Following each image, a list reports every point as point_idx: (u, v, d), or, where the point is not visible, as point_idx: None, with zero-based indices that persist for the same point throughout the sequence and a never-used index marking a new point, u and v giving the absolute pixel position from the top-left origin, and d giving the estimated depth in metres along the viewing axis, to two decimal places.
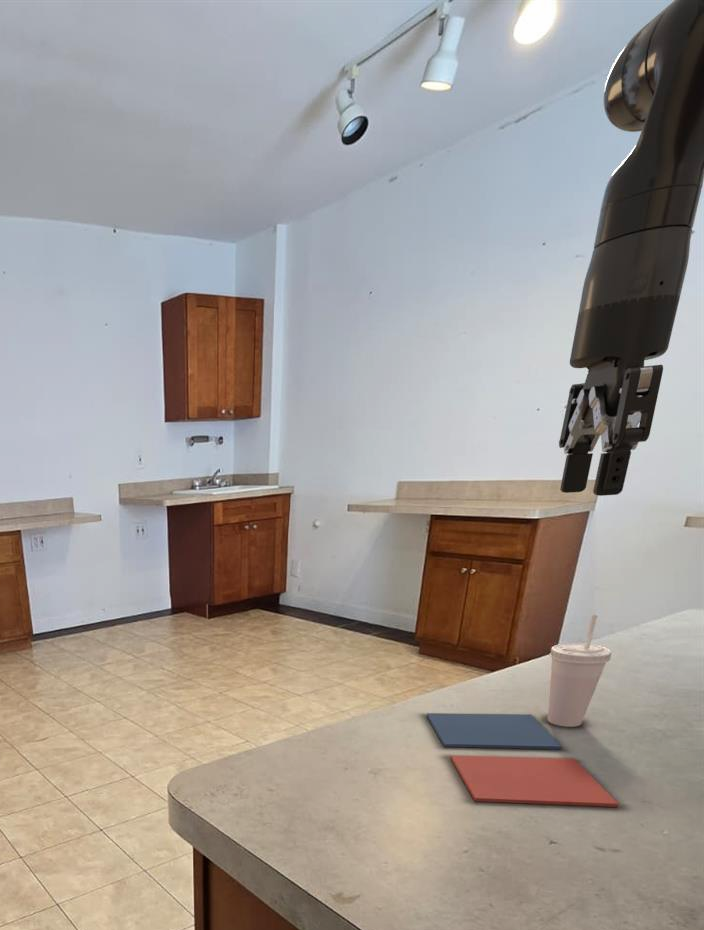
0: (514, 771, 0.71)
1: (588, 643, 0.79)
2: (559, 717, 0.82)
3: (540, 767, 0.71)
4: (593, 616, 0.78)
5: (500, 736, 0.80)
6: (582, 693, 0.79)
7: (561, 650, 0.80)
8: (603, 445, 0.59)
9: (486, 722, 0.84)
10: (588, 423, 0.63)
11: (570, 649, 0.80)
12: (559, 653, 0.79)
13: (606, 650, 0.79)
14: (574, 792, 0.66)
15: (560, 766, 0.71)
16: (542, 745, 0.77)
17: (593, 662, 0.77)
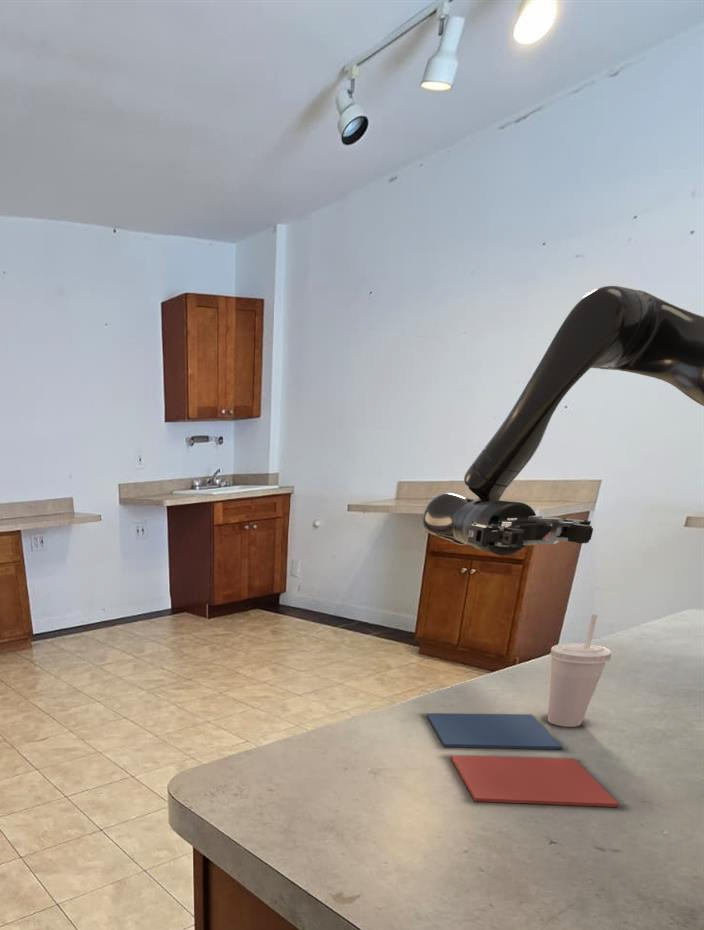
0: (514, 771, 0.71)
1: (588, 643, 0.79)
2: (559, 717, 0.82)
3: (540, 767, 0.71)
4: (593, 616, 0.78)
5: (500, 736, 0.80)
6: (582, 693, 0.79)
7: (561, 650, 0.80)
8: (499, 546, 0.89)
9: (486, 722, 0.84)
10: (533, 539, 0.91)
11: (570, 649, 0.80)
12: (559, 653, 0.79)
13: (606, 650, 0.79)
14: (574, 792, 0.66)
15: (560, 766, 0.71)
16: (542, 745, 0.77)
17: (593, 662, 0.77)
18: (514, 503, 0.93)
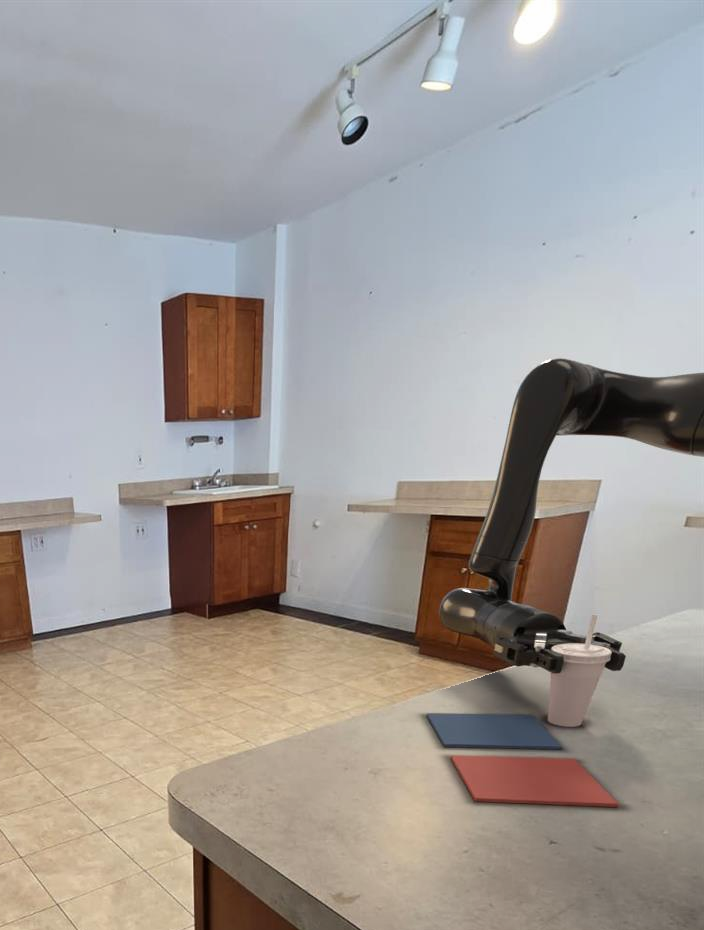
0: (514, 771, 0.71)
1: (588, 643, 0.79)
2: (559, 717, 0.82)
3: (540, 767, 0.71)
4: (593, 616, 0.77)
5: (500, 736, 0.80)
6: (582, 693, 0.79)
7: (561, 650, 0.80)
8: (535, 666, 0.83)
9: (486, 722, 0.84)
10: None
11: (570, 649, 0.80)
12: (559, 653, 0.79)
13: (606, 650, 0.79)
14: (574, 792, 0.66)
15: (560, 766, 0.71)
16: (542, 745, 0.77)
17: (593, 662, 0.77)
18: (541, 614, 0.88)
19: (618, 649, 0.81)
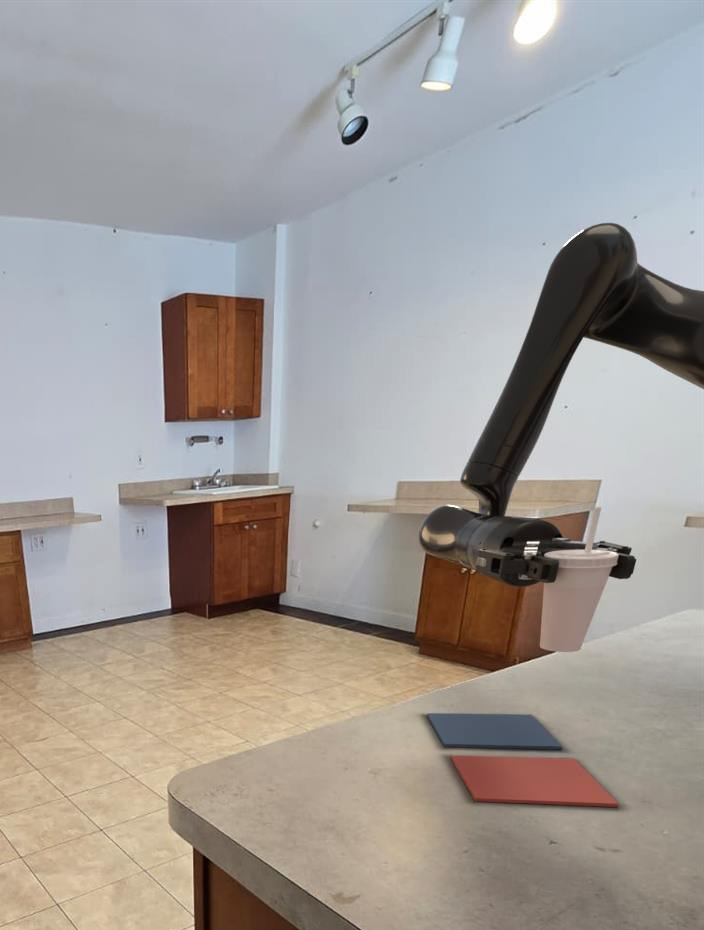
0: (514, 771, 0.71)
1: (590, 545, 0.64)
2: (553, 641, 0.67)
3: (540, 767, 0.71)
4: (596, 509, 0.62)
5: (500, 736, 0.80)
6: (581, 608, 0.64)
7: (556, 555, 0.65)
8: (524, 579, 0.68)
9: (486, 722, 0.84)
10: None
11: (567, 553, 0.64)
12: (553, 558, 0.64)
13: (612, 553, 0.63)
14: (574, 792, 0.66)
15: (560, 766, 0.71)
16: (542, 745, 0.77)
17: (596, 566, 0.62)
18: (534, 521, 0.72)
19: None
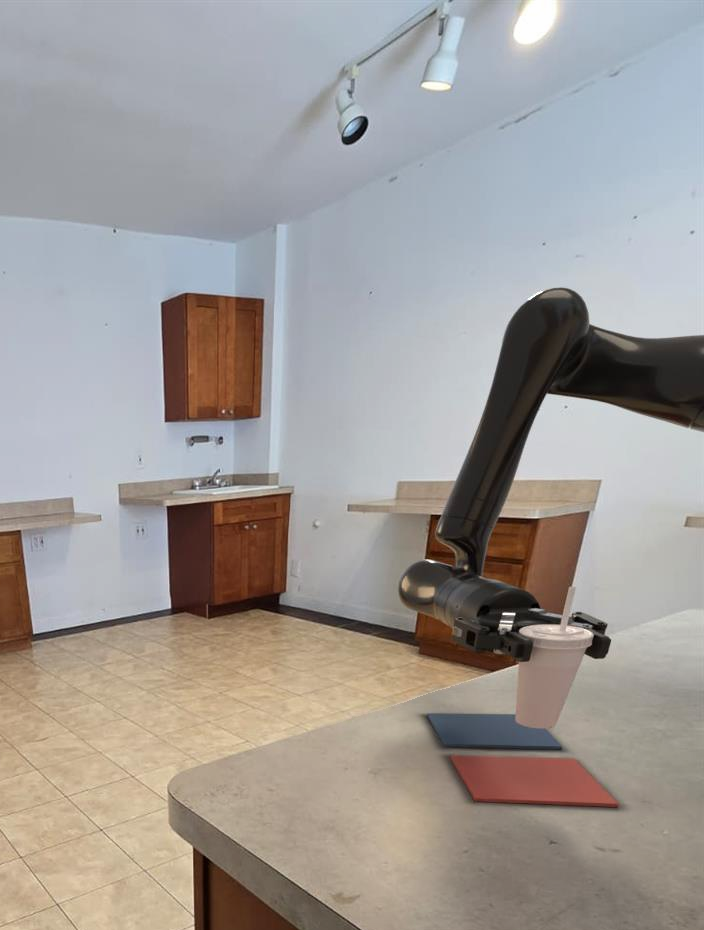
0: (514, 771, 0.71)
1: (564, 624, 0.63)
2: (528, 717, 0.66)
3: (540, 767, 0.71)
4: (570, 589, 0.61)
5: (500, 736, 0.80)
6: (556, 687, 0.63)
7: (531, 633, 0.64)
8: (499, 653, 0.67)
9: (486, 722, 0.84)
10: None
11: (542, 631, 0.63)
12: (528, 636, 0.63)
13: (587, 632, 0.62)
14: (574, 792, 0.66)
15: (560, 766, 0.71)
16: (542, 745, 0.77)
17: (570, 647, 0.61)
18: (510, 590, 0.71)
19: (603, 632, 0.65)
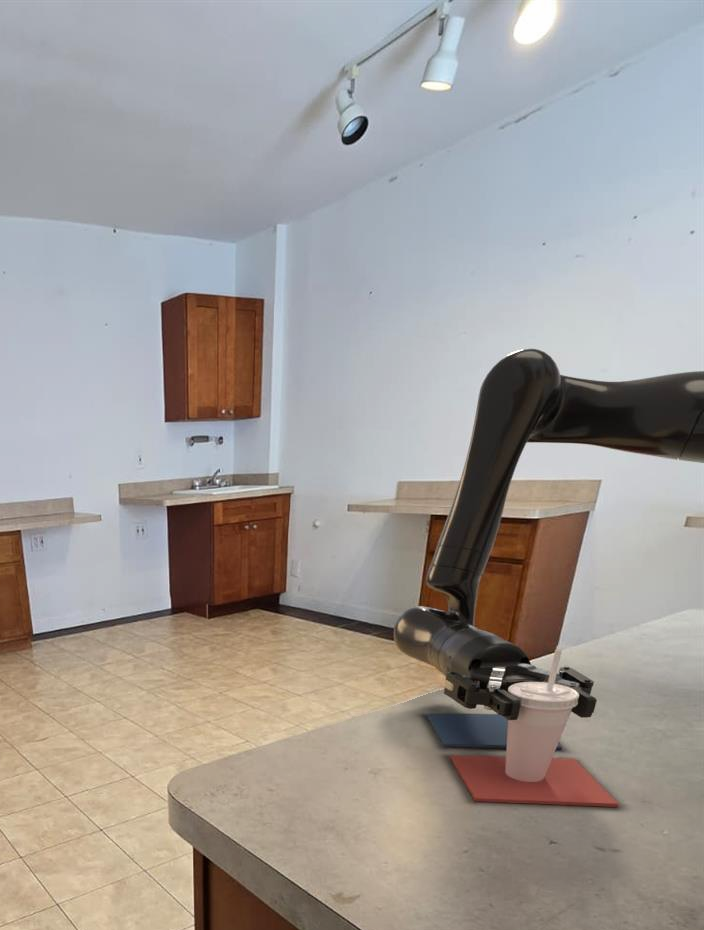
0: None
1: (551, 684, 0.65)
2: (518, 770, 0.68)
3: None
4: (557, 652, 0.64)
5: (500, 736, 0.80)
6: (543, 744, 0.66)
7: (519, 691, 0.66)
8: (489, 709, 0.69)
9: (486, 722, 0.84)
10: None
11: (530, 690, 0.66)
12: (516, 695, 0.65)
13: (573, 692, 0.65)
14: (574, 792, 0.66)
15: (560, 766, 0.71)
16: None
17: (556, 707, 0.64)
18: (501, 645, 0.74)
19: (589, 689, 0.68)
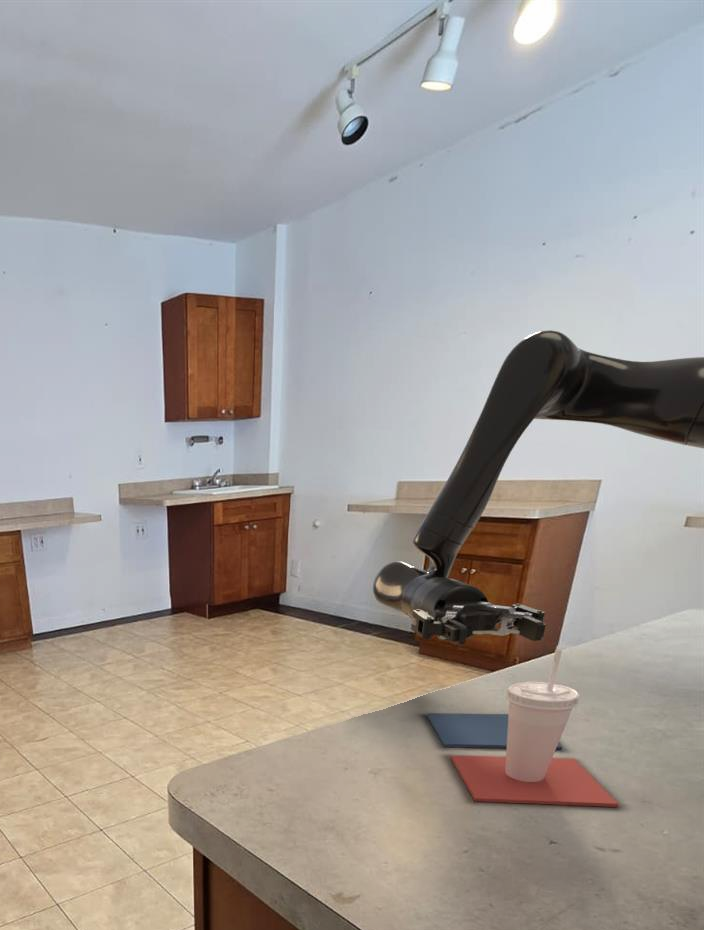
0: None
1: (551, 684, 0.65)
2: (517, 770, 0.69)
3: None
4: (557, 652, 0.64)
5: (500, 736, 0.80)
6: (543, 744, 0.66)
7: (519, 691, 0.66)
8: (443, 639, 0.79)
9: (486, 722, 0.84)
10: (482, 629, 0.80)
11: (530, 690, 0.66)
12: (516, 695, 0.66)
13: (573, 692, 0.65)
14: (574, 792, 0.66)
15: (560, 766, 0.71)
16: None
17: (556, 707, 0.64)
18: (462, 586, 0.83)
19: (541, 619, 0.78)
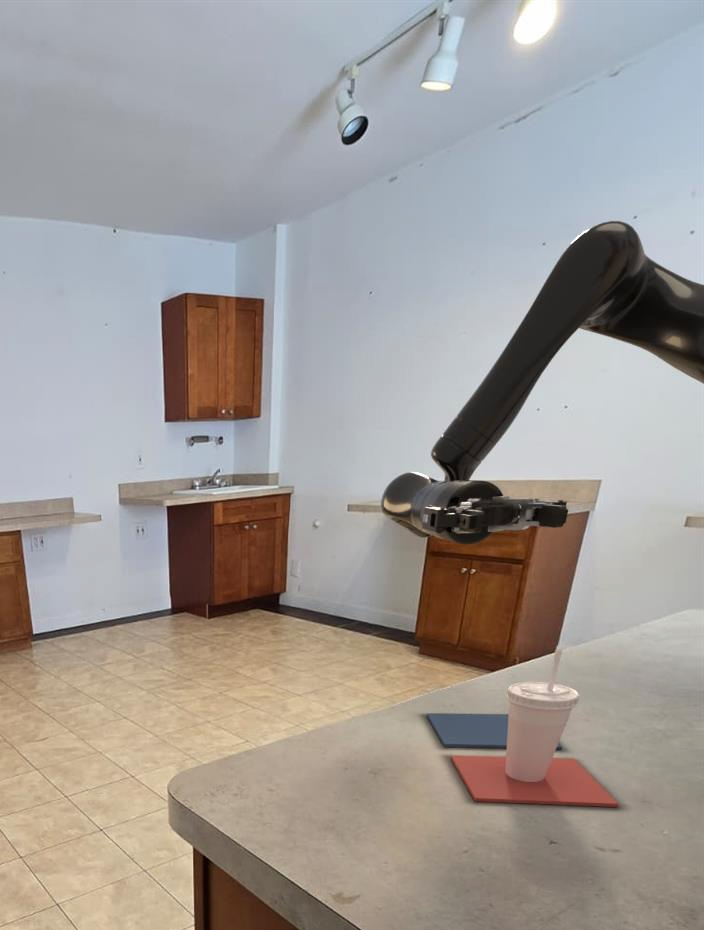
0: None
1: (551, 684, 0.65)
2: (517, 770, 0.69)
3: None
4: (557, 652, 0.64)
5: (500, 736, 0.80)
6: (543, 744, 0.66)
7: (519, 691, 0.66)
8: (457, 532, 0.74)
9: (486, 722, 0.84)
10: (499, 524, 0.75)
11: (530, 690, 0.66)
12: (516, 695, 0.66)
13: (573, 692, 0.65)
14: (574, 792, 0.66)
15: (560, 766, 0.71)
16: None
17: (556, 707, 0.64)
18: (477, 482, 0.78)
19: None
